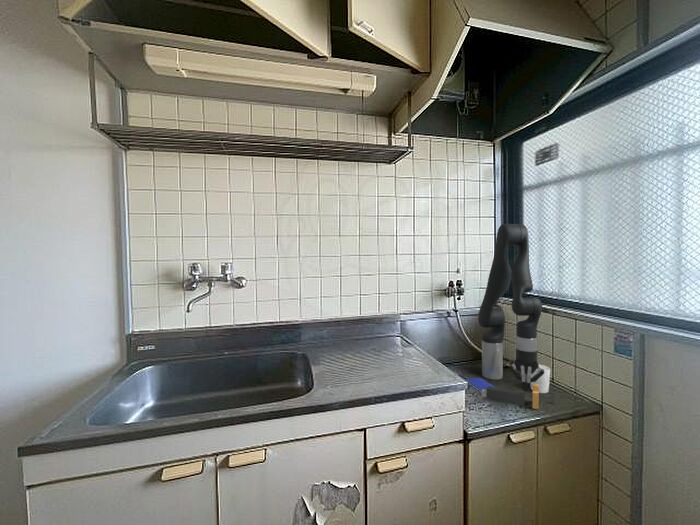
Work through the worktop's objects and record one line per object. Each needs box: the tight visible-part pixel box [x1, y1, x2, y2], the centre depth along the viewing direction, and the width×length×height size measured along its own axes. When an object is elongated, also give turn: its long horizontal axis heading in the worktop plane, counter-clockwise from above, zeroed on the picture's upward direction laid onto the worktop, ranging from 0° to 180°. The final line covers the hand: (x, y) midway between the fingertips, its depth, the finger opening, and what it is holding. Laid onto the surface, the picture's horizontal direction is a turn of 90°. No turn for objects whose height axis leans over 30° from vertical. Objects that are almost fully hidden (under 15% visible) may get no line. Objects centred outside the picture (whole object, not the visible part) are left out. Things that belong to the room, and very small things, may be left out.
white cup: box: [530, 364, 551, 394], centre depth 145 cm, size 8×8×10 cm
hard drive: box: [465, 377, 495, 394], centre depth 150 cm, size 2×8×12 cm
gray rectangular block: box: [481, 386, 526, 406], centre depth 137 cm, size 3×16×4 cm, turn 60°
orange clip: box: [532, 383, 540, 410], centre depth 131 cm, size 6×2×8 cm, turn 150°
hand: (526, 390), depth 132 cm, fingers closed
